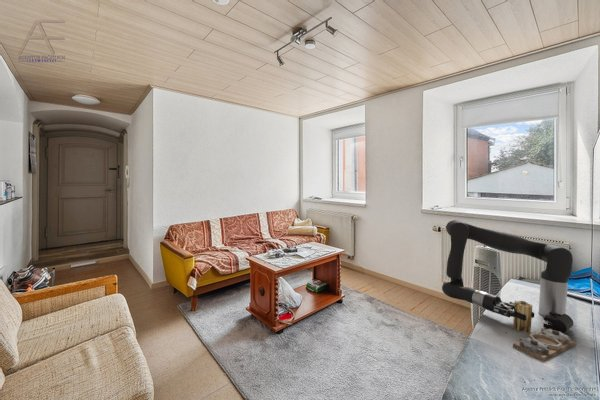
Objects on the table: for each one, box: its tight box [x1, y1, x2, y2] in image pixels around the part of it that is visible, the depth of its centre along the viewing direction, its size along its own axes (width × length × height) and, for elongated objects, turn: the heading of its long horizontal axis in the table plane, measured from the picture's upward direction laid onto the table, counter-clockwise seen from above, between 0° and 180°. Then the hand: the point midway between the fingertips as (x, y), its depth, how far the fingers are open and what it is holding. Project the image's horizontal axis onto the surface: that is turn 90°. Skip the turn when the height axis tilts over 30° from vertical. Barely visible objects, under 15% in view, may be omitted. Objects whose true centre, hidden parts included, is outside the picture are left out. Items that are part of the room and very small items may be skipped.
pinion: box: [512, 300, 533, 334], centre depth 111 cm, size 6×6×12 cm
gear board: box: [512, 328, 577, 362], centre depth 100 cm, size 25×9×4 cm, turn 116°
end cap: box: [543, 312, 574, 334], centre depth 111 cm, size 10×7×7 cm
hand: (529, 316), depth 109 cm, fingers closed on pinion, 5 cm apart
